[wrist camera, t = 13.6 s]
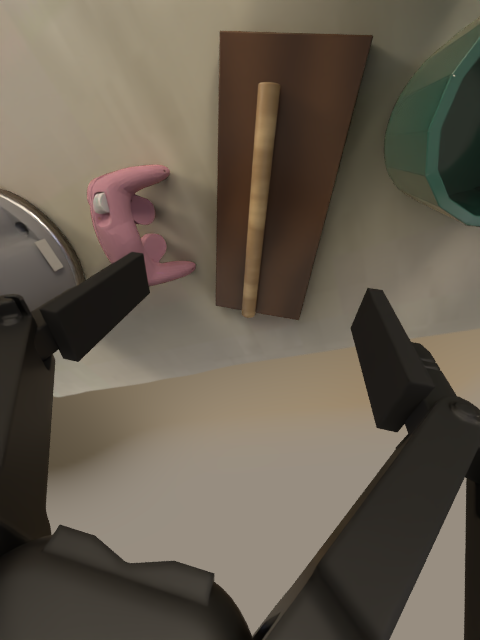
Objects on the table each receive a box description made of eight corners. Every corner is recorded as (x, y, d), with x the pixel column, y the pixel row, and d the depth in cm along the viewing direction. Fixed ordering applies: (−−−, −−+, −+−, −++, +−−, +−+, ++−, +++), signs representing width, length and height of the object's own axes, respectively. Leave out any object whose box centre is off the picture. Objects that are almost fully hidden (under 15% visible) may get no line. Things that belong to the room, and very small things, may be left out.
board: (218, 301, 28) (215, 305, 27) (223, 36, 16) (219, 30, 15) (299, 315, 26) (298, 320, 26) (369, 40, 15) (373, 35, 14)
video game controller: (141, 166, 23) (62, 179, 18) (171, 158, 20) (86, 172, 16) (175, 267, 28) (119, 295, 24) (202, 272, 25) (144, 304, 21)
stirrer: (329, 217, 25) (244, 315, 27) (264, 71, 15) (136, 238, 17) (339, 220, 24) (251, 322, 26) (277, 67, 15) (141, 244, 16)
